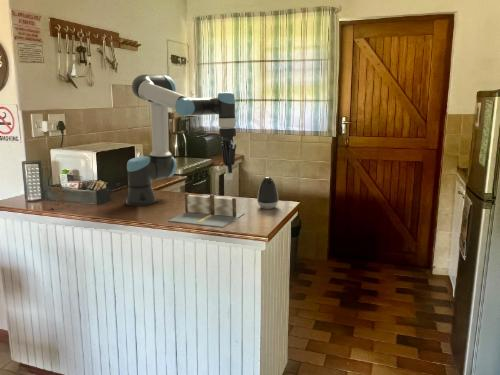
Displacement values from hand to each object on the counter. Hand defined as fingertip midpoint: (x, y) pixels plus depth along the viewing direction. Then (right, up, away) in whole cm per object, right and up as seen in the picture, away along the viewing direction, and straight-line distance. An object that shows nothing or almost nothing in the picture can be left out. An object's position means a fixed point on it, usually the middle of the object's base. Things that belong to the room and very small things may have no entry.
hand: (229, 179), depth 197 cm
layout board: (-10, -17, -4) cm, 20 cm away
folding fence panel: (-1, -16, -3) cm, 16 cm away
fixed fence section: (-14, -16, +2) cm, 21 cm away
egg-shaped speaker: (+18, -14, +11) cm, 25 cm away
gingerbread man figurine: (-86, -14, +20) cm, 89 cm away
